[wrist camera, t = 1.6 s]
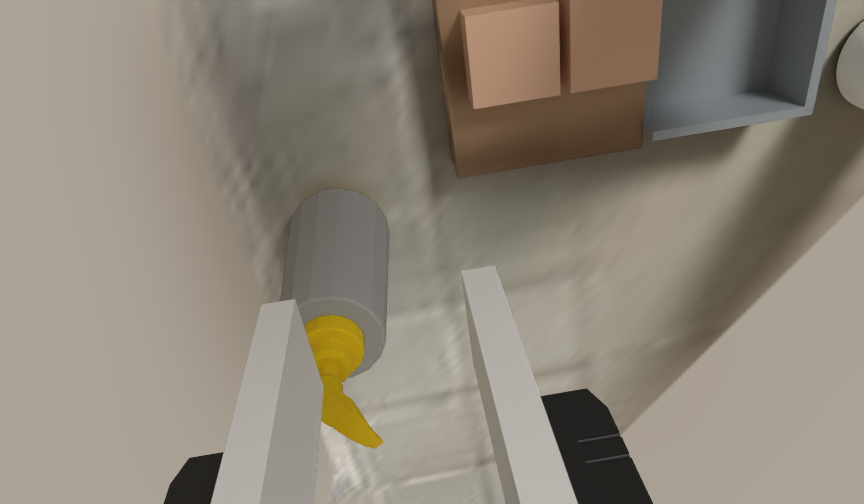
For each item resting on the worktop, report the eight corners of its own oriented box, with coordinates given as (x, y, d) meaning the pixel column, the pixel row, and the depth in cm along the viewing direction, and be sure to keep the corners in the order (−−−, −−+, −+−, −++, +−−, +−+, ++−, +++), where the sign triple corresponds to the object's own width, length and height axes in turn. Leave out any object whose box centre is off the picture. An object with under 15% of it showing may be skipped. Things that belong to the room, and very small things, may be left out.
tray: (633, -106, 33) (669, -105, 29) (808, -134, 33) (866, -137, 29) (625, 117, 40) (652, 141, 36) (769, 93, 40) (812, 114, 36)
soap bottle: (341, 281, 44) (328, 483, 29) (270, 222, 41) (214, 413, 26) (409, 226, 43) (433, 411, 27) (340, 160, 39) (324, 327, 24)
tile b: (559, -6, 32) (570, -1, 31) (648, -21, 32) (663, -16, 31) (561, 83, 35) (570, 93, 33) (643, 70, 35) (657, 78, 33)
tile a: (459, 10, 32) (464, 16, 31) (548, -5, 32) (558, 1, 31) (468, 98, 35) (473, 109, 33) (551, 85, 35) (560, 94, 33)
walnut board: (420, -92, 32) (425, -91, 30) (634, -127, 32) (657, -128, 30) (452, 159, 40) (458, 177, 38) (624, 131, 40) (641, 147, 38)
